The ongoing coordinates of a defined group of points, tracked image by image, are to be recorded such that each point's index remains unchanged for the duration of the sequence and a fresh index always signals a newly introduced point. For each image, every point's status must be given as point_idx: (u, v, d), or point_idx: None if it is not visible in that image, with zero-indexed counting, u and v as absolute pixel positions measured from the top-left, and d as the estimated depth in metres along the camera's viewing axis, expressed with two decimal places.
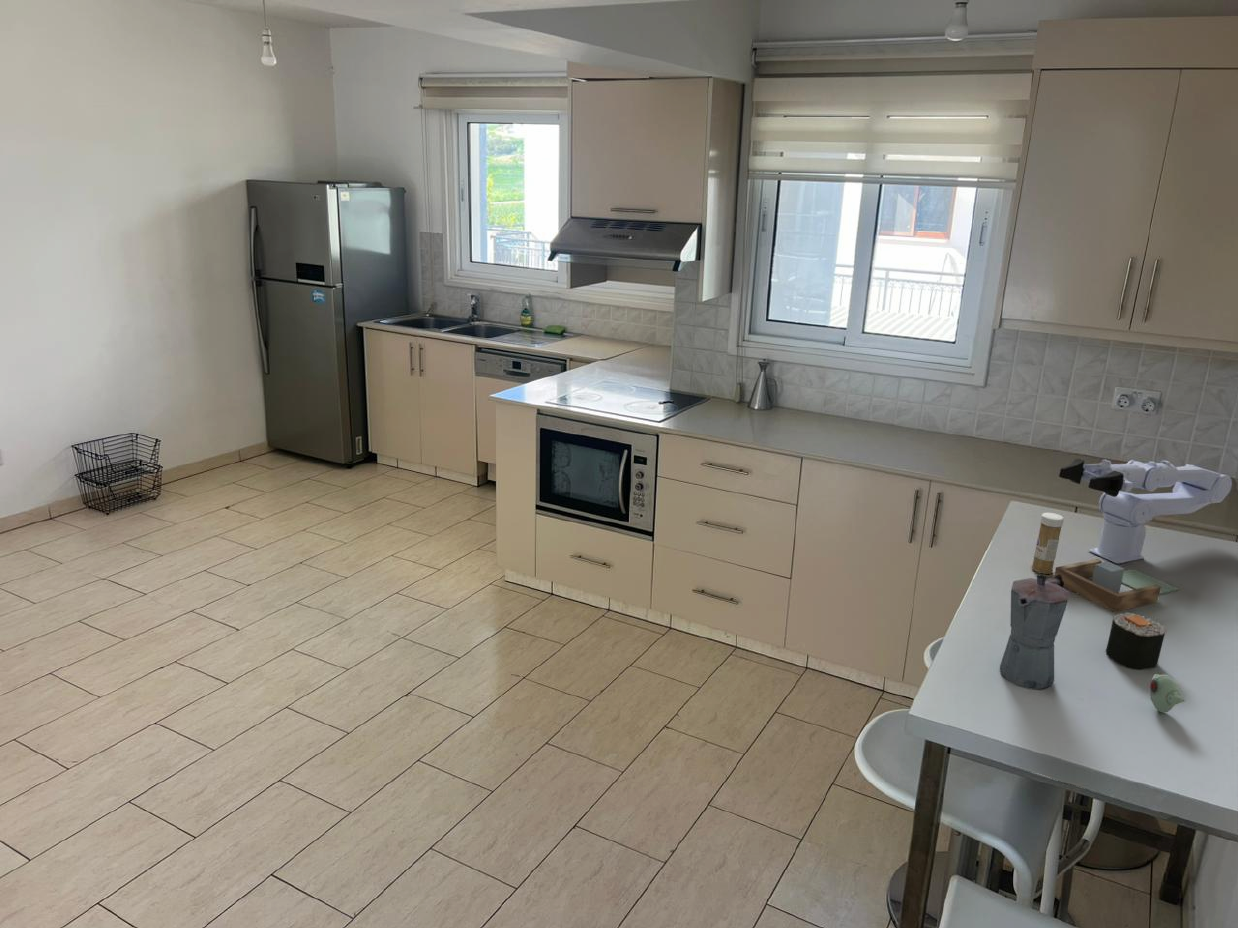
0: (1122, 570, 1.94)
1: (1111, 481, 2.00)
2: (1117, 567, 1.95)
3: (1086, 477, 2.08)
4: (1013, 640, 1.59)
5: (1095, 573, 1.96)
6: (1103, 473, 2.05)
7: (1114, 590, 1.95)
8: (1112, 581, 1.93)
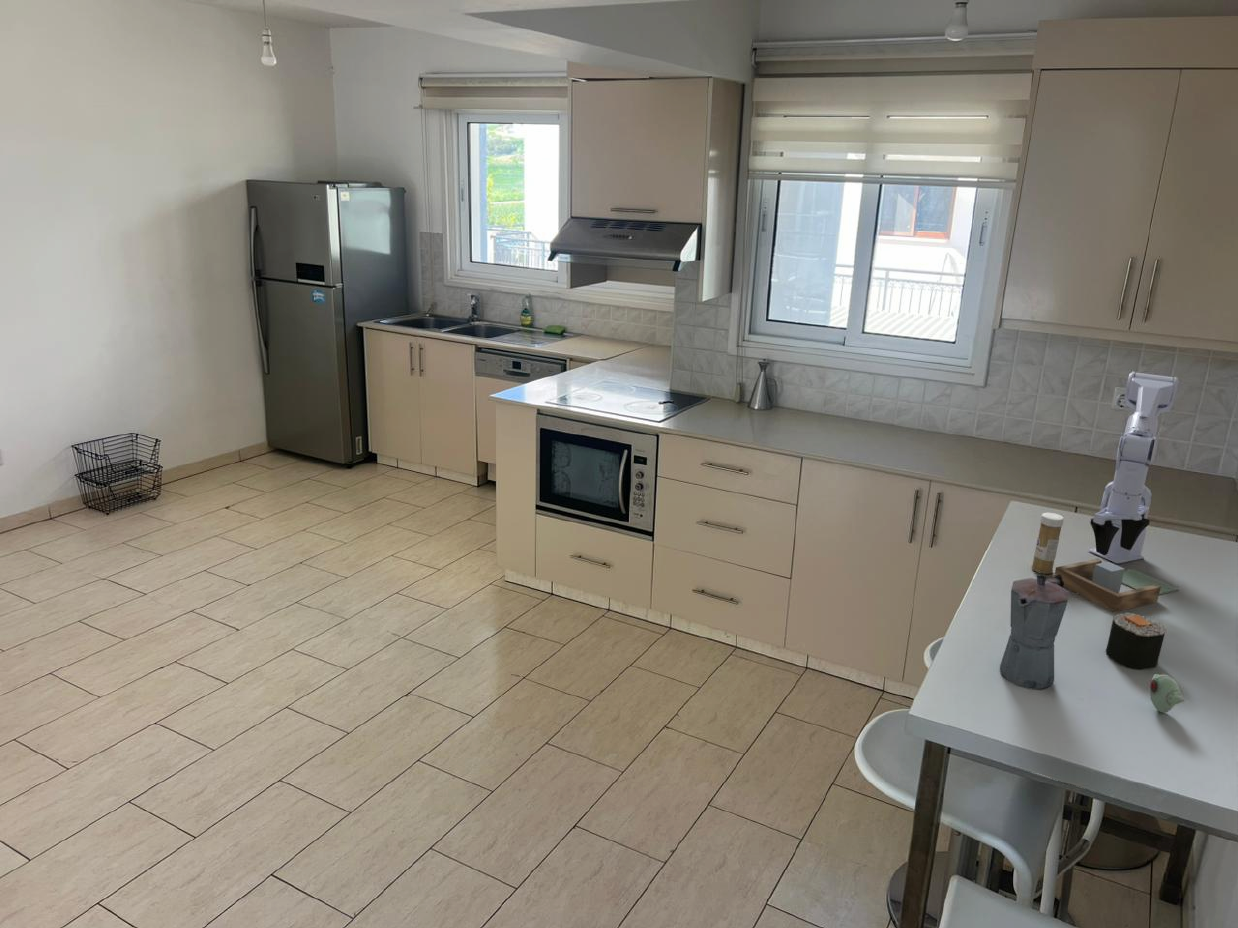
0: (1122, 570, 1.94)
1: None
2: (1117, 567, 1.95)
3: None
4: (1013, 640, 1.59)
5: (1095, 573, 1.96)
6: None
7: (1114, 590, 1.95)
8: (1112, 581, 1.93)
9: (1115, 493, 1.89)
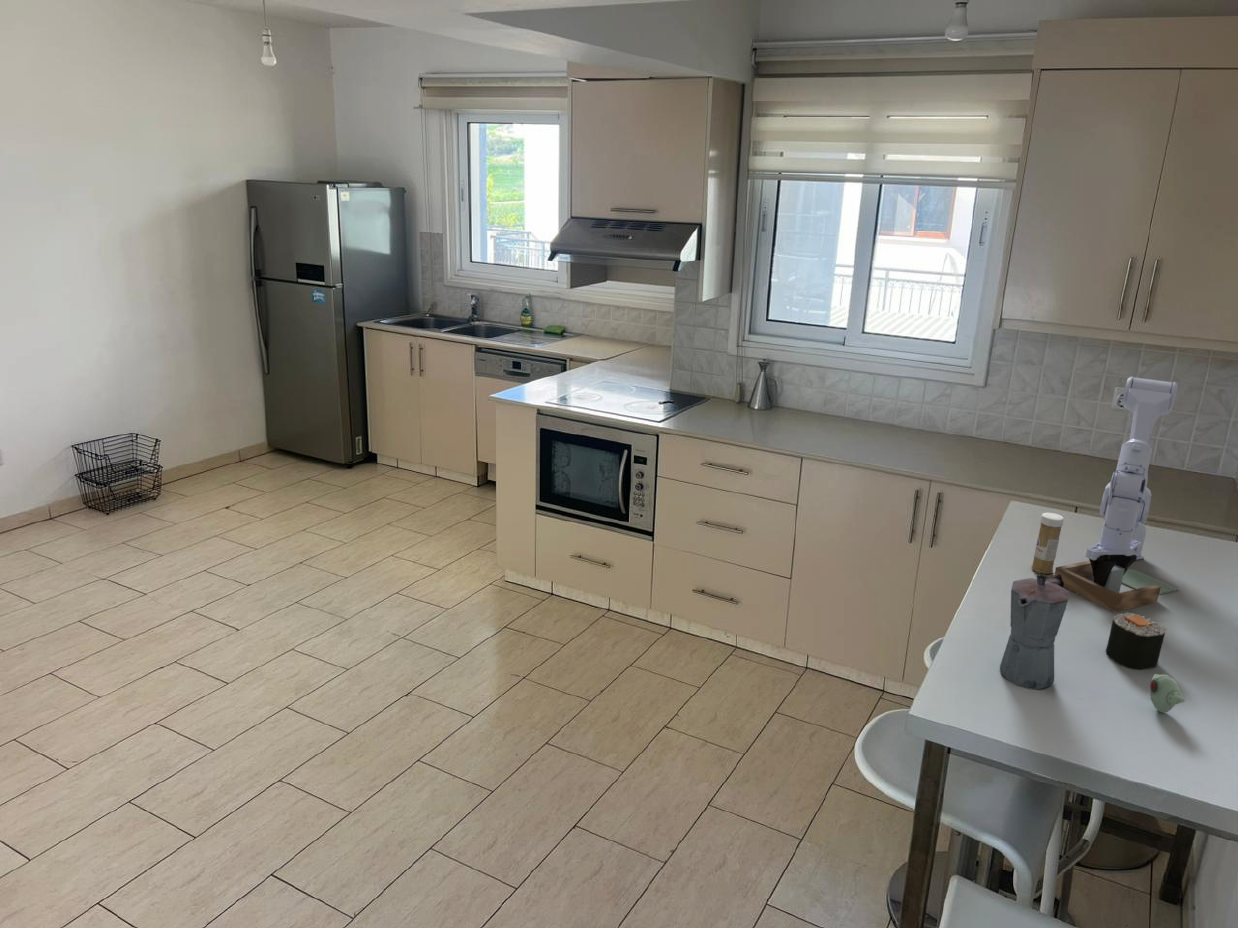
0: (1122, 570, 1.94)
1: None
2: (1117, 567, 1.94)
3: None
4: (1013, 640, 1.59)
5: None
6: None
7: (1114, 590, 1.95)
8: (1112, 581, 1.93)
9: (1107, 529, 1.91)
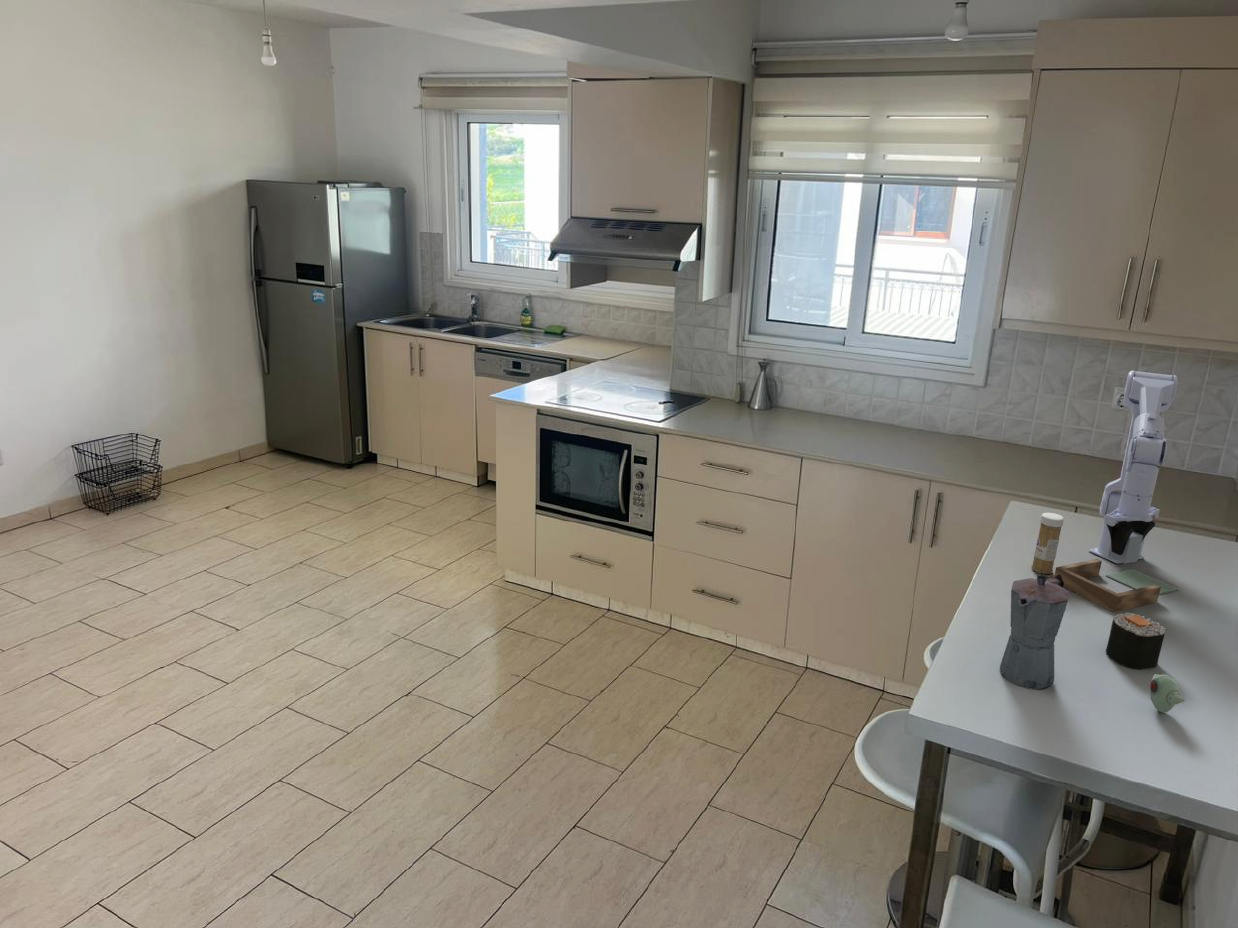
0: (1140, 536, 1.93)
1: None
2: (1135, 534, 1.94)
3: None
4: (1013, 640, 1.59)
5: None
6: None
7: (1132, 557, 1.94)
8: (1130, 548, 1.93)
9: (1126, 495, 1.91)
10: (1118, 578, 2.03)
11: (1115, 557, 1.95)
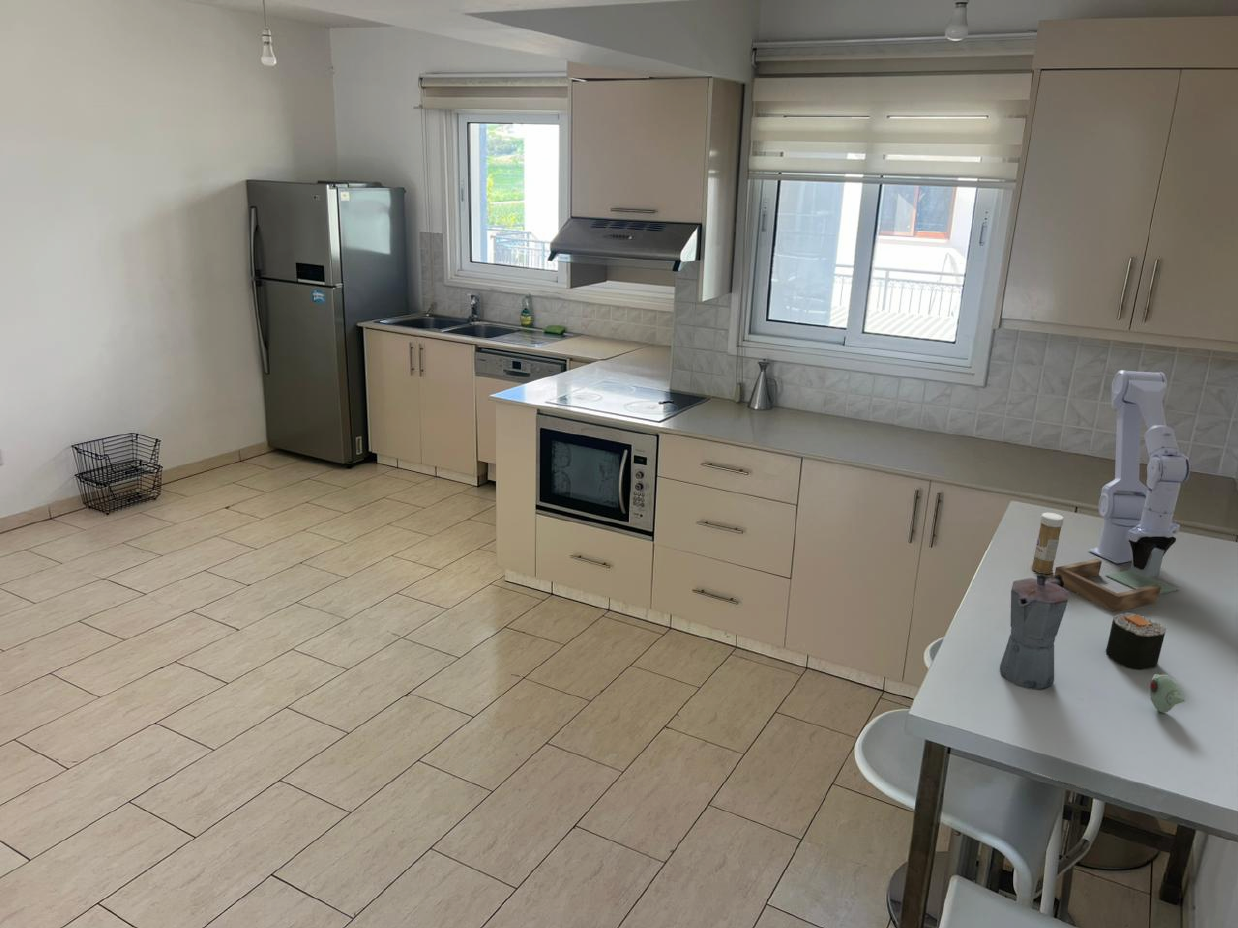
0: (1162, 552, 1.98)
1: None
2: (1157, 549, 1.99)
3: None
4: (1013, 640, 1.59)
5: None
6: None
7: (1154, 571, 1.99)
8: (1152, 563, 1.98)
9: (1148, 511, 1.96)
10: (1118, 578, 2.03)
11: (1137, 572, 2.00)
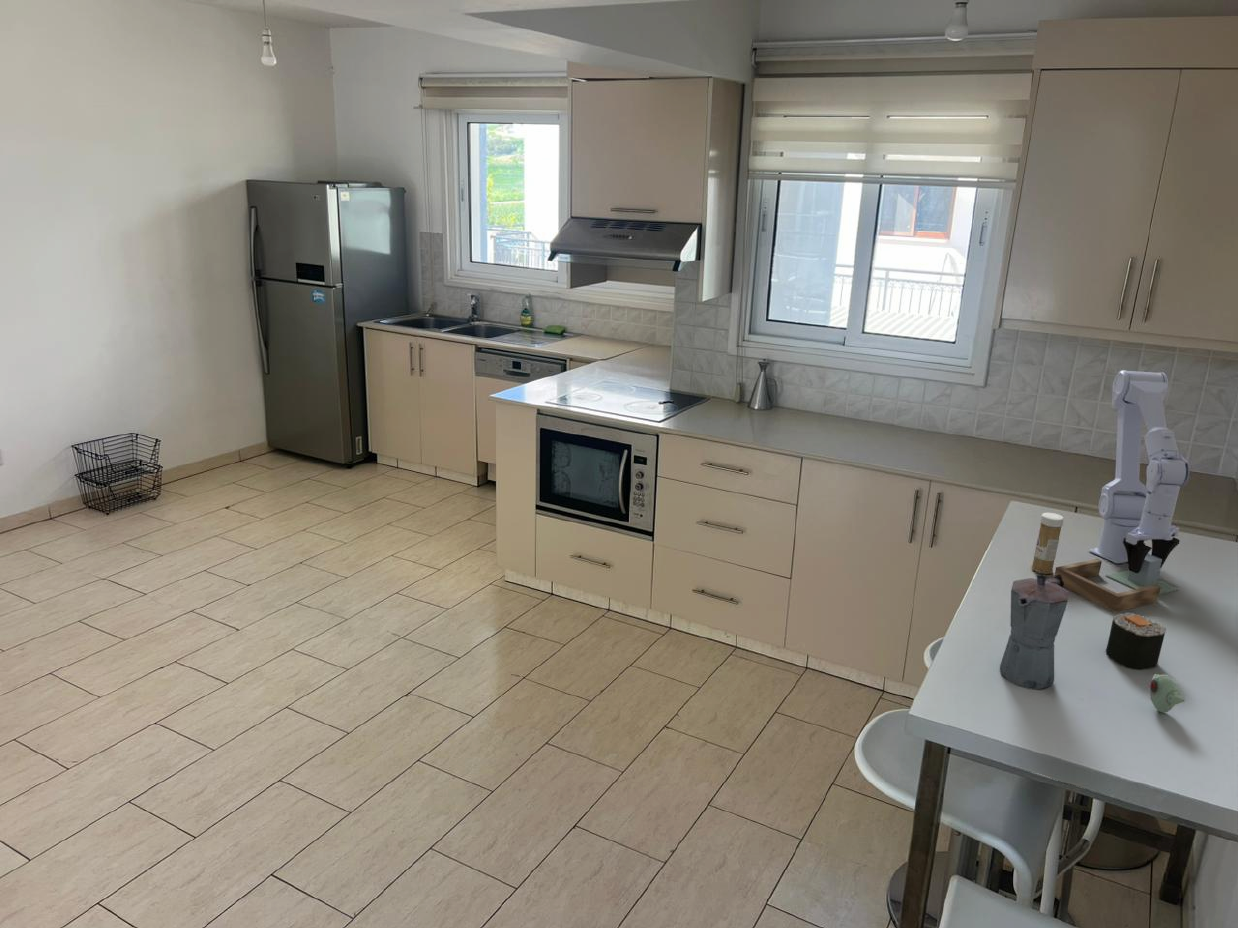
0: (1160, 560, 1.99)
1: None
2: (1155, 558, 1.99)
3: None
4: (1013, 640, 1.59)
5: None
6: None
7: (1152, 580, 2.00)
8: (1150, 572, 1.98)
9: (1147, 514, 1.96)
10: (1118, 578, 2.03)
11: (1135, 580, 2.01)
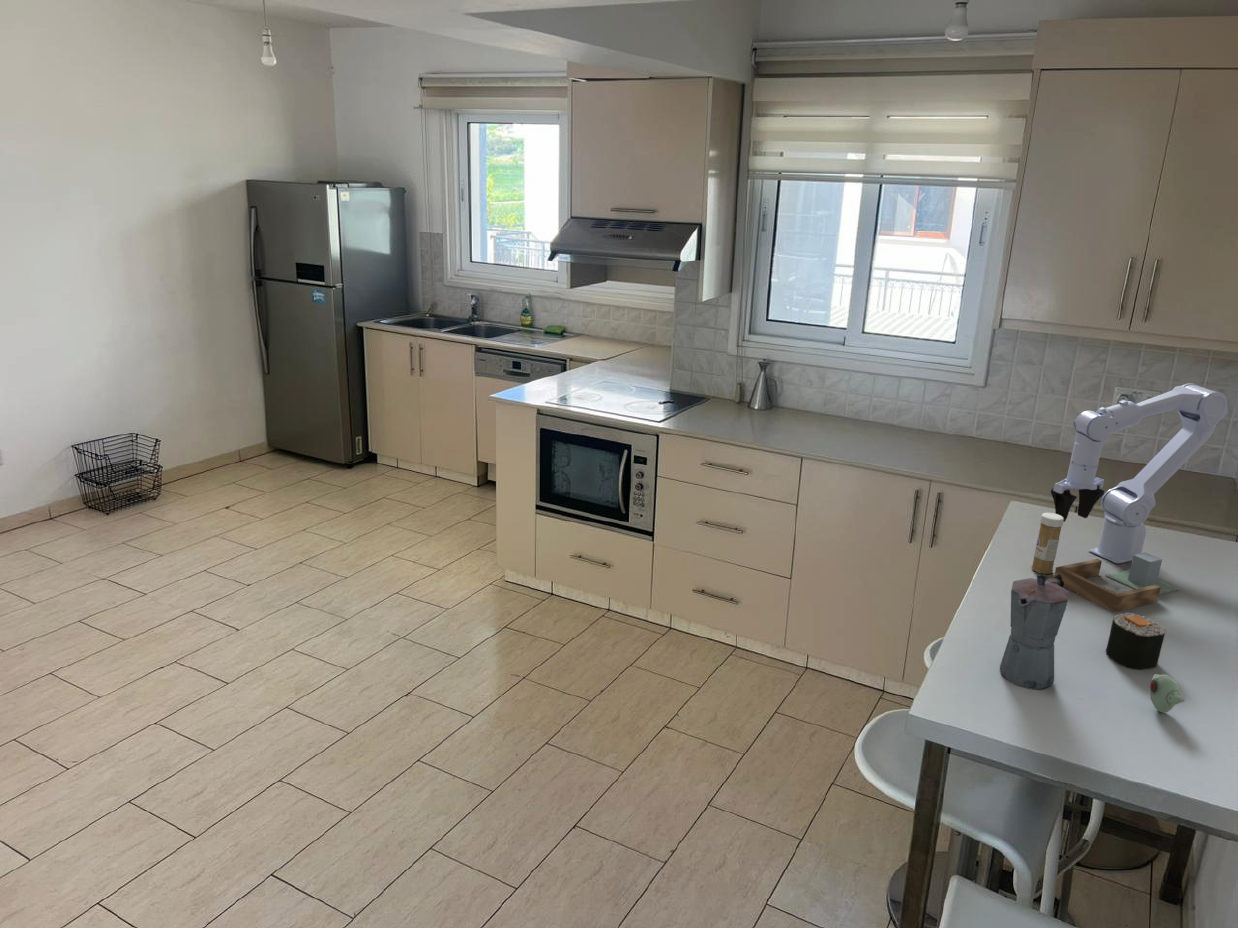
0: (1160, 560, 1.99)
1: None
2: (1155, 558, 1.99)
3: None
4: (1013, 640, 1.59)
5: (1133, 563, 2.01)
6: None
7: (1152, 580, 2.00)
8: (1150, 572, 1.98)
9: (1073, 465, 2.07)
10: (1118, 578, 2.03)
11: (1135, 580, 2.01)
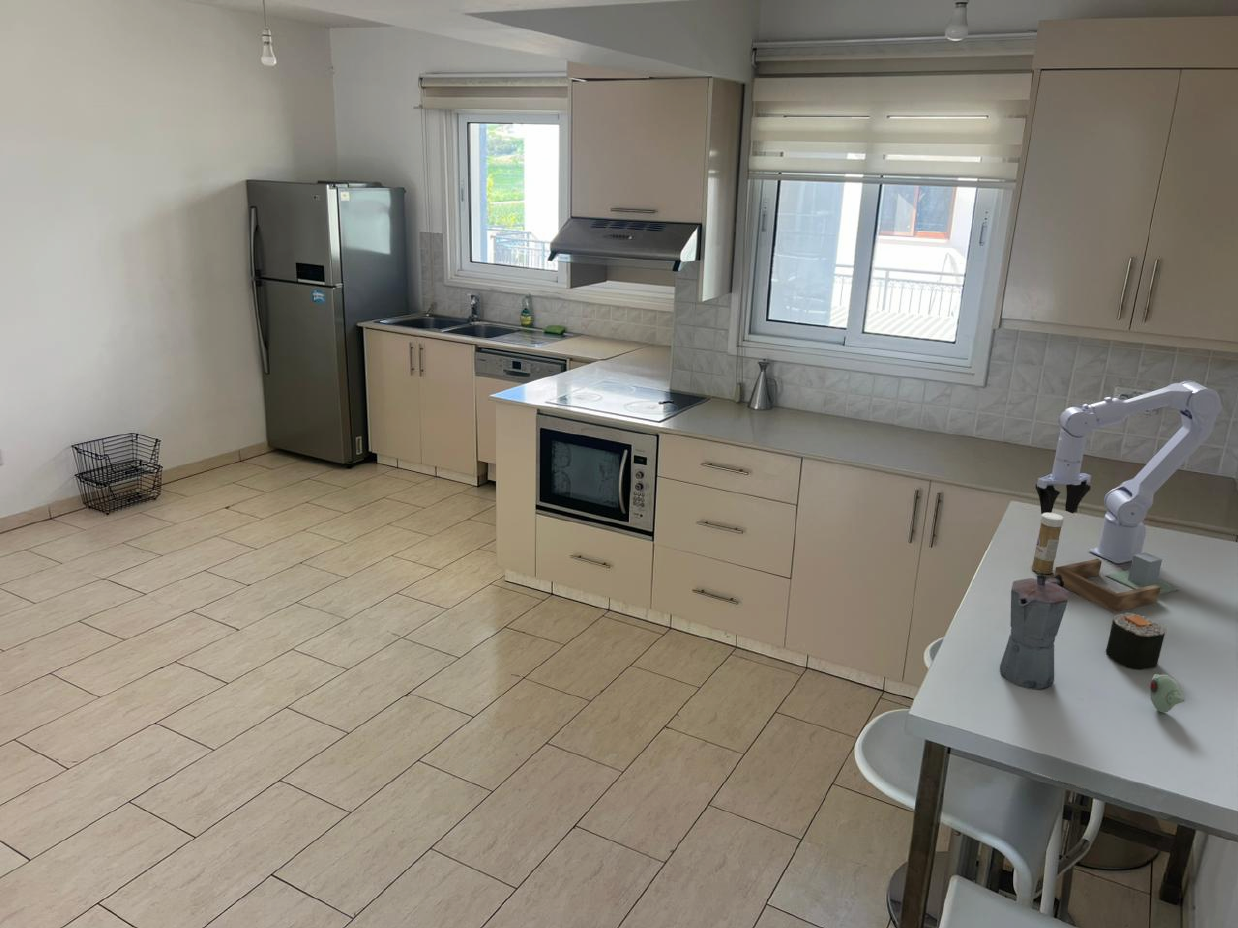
0: (1160, 560, 1.99)
1: None
2: (1155, 558, 1.99)
3: None
4: (1013, 640, 1.59)
5: (1133, 563, 2.01)
6: None
7: (1152, 580, 2.00)
8: (1150, 572, 1.98)
9: (1057, 460, 2.10)
10: (1118, 578, 2.03)
11: (1135, 580, 2.01)
